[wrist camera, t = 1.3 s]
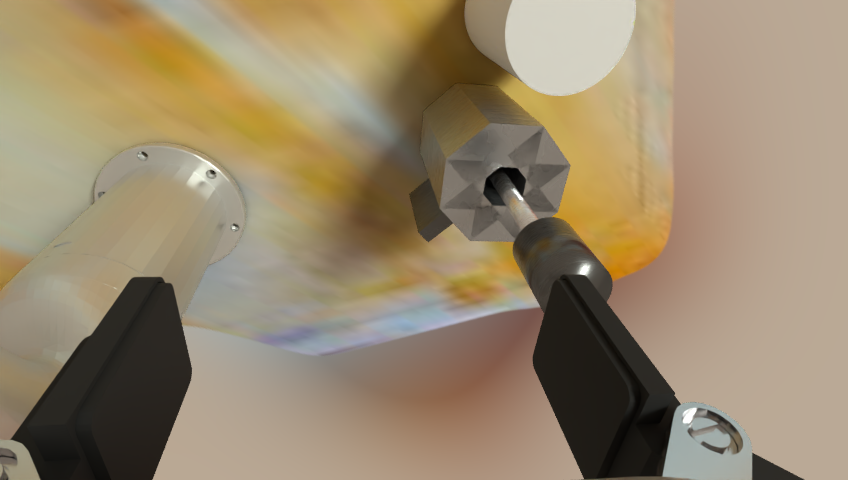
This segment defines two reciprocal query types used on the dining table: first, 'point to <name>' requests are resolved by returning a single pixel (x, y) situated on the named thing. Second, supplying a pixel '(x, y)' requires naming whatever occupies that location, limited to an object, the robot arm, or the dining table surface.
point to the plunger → (548, 246)
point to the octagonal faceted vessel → (483, 164)
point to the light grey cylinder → (552, 39)
